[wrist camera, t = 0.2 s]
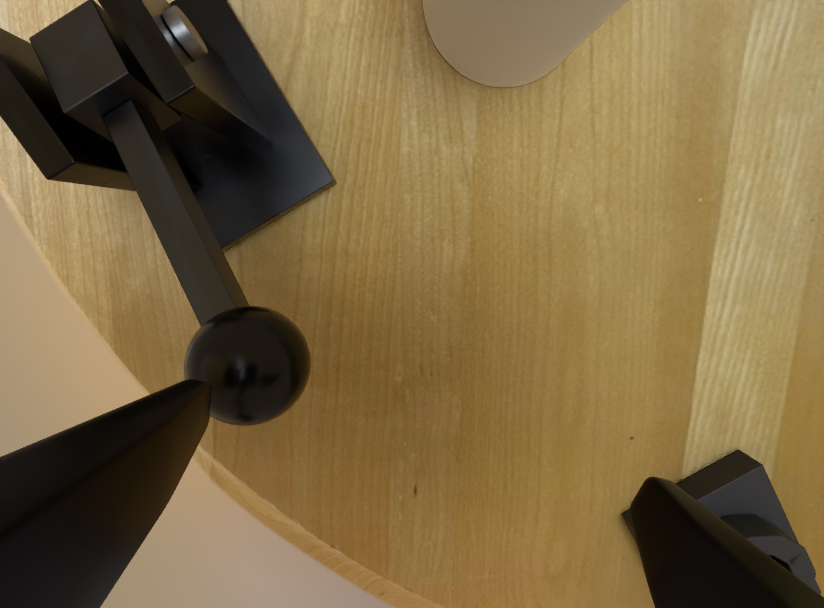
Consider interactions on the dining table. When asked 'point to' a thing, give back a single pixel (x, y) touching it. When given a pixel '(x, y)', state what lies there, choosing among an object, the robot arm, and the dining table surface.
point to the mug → (512, 35)
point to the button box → (749, 510)
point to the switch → (199, 107)
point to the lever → (175, 220)
